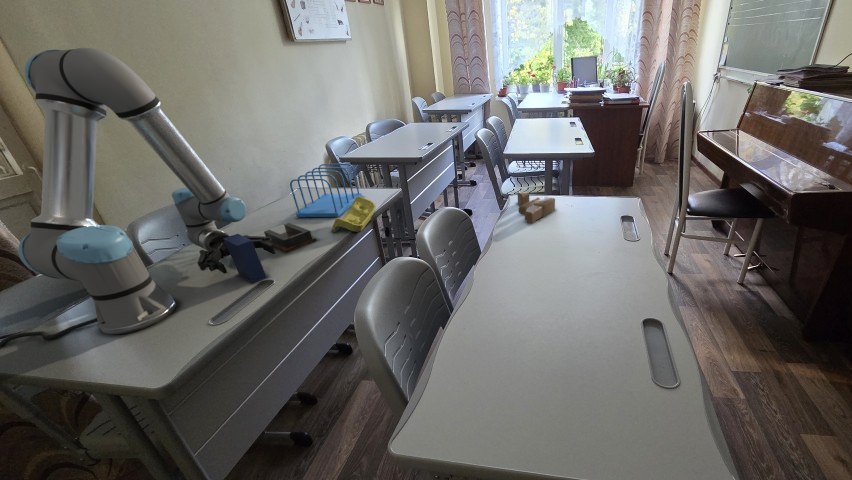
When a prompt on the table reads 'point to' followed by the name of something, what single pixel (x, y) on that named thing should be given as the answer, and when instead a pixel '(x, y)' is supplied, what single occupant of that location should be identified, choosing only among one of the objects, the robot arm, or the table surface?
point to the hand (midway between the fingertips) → (249, 259)
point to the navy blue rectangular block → (245, 257)
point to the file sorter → (326, 196)
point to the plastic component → (356, 215)
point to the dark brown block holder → (290, 237)
